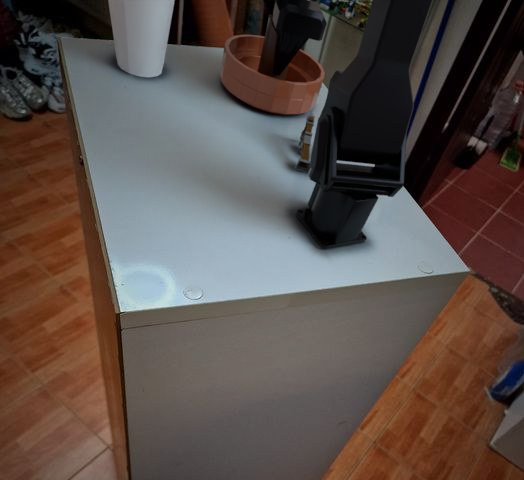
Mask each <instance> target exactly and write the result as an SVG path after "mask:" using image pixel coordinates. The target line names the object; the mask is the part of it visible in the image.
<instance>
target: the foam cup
mask: <svg viewBox="0 0 524 480" xmlns="http://www.w3.org/2000/svg"><path fill="white" fill-rule="evenodd" d="M175 1H176V0H107V2H108V8H109V9H108V10H109V15H110V22H111V28H112V29H111V30H112V37H113V42H114V49H115V50H114V51H115V58H116V61H117V63H116V64H117V66H118V67H119V68H120V69H121V70H122V71H124V72H126V73H128V74H129V75H133V76H136V77H141V78H154V77H158V76H160V75H161V74H162V73H163V69H164V65H165V59H166V53H167V46H168V43H169V37H170V36H169V35H170V29H171V25H172V20H173V19H172V17H173V13H174V7H175Z"/></svg>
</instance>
